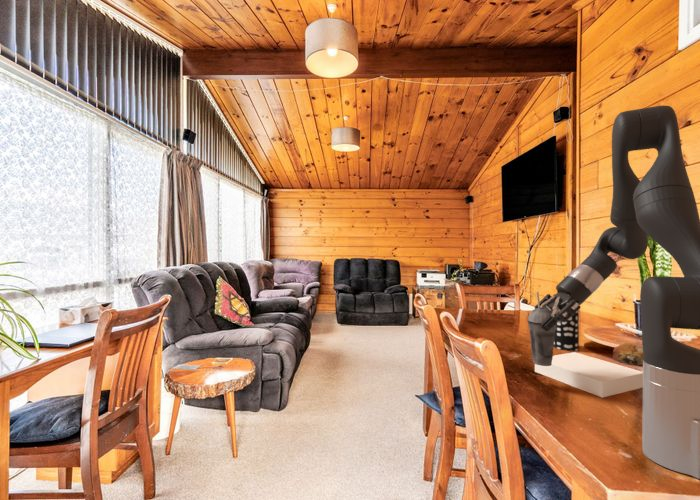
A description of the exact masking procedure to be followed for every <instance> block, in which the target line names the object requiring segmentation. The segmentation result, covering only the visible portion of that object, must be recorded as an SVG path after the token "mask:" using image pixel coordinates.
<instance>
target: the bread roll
mask: <svg viewBox="0 0 700 500" xmlns="http://www.w3.org/2000/svg"><path fill="white" fill-rule="evenodd" d="M612 358H613V359H614V361H615V362H618V363H620V364H621V363H622V364H625V365H631V366H639V367H641V366H643V346H641V345H639V344H638V343H633V342H623V343H621V344H619V345H617V346H615V347H614V349H613V350H612Z"/></svg>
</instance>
